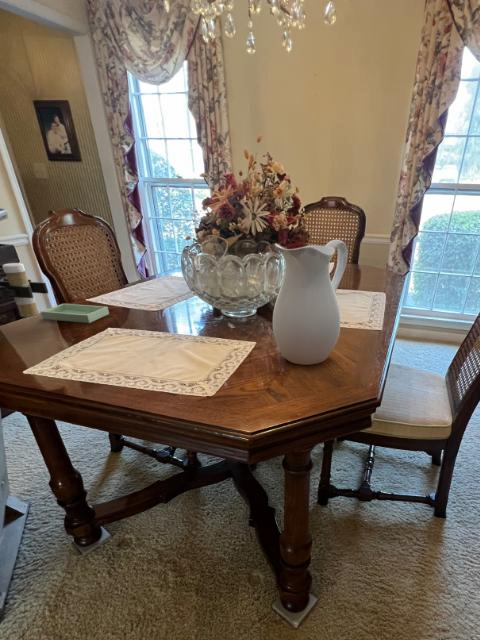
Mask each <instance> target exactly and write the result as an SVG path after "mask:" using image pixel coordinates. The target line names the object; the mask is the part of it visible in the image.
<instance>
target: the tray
mask: <svg viewBox="0 0 480 640" xmlns="http://www.w3.org/2000/svg"><path fill="white" fill-rule="evenodd" d="M40 315H41V317H42V320H50V321H60V322H61V321H62V322H63V321H64V322H73V323H74V322H75V323H86V324H90V323H93V322H95V321H96V320H99V319H101V318H103V317H106V316H109V315H110V311H109V307H108V306H102V305H88V304H75V303H61V304H58V305H55V306H52V307H49V308H47V309H44V310H41V311H40Z"/></svg>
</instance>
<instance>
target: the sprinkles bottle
mask: <svg viewBox="0 0 480 640" xmlns="http://www.w3.org/2000/svg"><path fill="white" fill-rule="evenodd" d="M2 269H3V272H4V273H5V275H6V278H8V281H9V284H10V286H23V287H30V284H29V282H28V279H29V278H28V277H27V274H26V268H25V265H24V264H23V262H22V263H21V262H9V263H4V264H2ZM30 288H31V287H30ZM31 291H32V290H31ZM32 294H33V298H22V297H13V299H14V301H15V304H16V306H17V309H18V311H19V316H20V317H23V318H30V317H31V318H32V317H35V316H37V315H39V314H40V311H39V309H38V306H37V303H36V300H35V299H36V298H35V297H34V293H32Z"/></svg>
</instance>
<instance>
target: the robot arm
mask: <svg viewBox="0 0 480 640" xmlns="http://www.w3.org/2000/svg"><path fill="white" fill-rule="evenodd" d="M27 279H28V282H29V284H30V287H31V288H30V287H23V286H10V284H9V281H8V278H7V276H6V277H2V278H0V299H1V298H3V299H4V301H10V298H14V297H22V298H33V296H34V294H49V289H48V287H47V284H46V282H39V281H37V282H36V281H32V280H31V279H29V278H27ZM31 290H32V291H31ZM32 293H33V294H32Z"/></svg>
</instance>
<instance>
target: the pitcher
mask: <svg viewBox="0 0 480 640" xmlns="http://www.w3.org/2000/svg"><path fill="white" fill-rule="evenodd" d="M274 246H275V248H276V250H278V251H279V252H280V253H279V254H280V255H281V256H282V257H283V259H284V264H285V269H284V277H283V279H282V283H281V285H280V288H279V291H278V294H277V297H276V300H275V304H274V306H273V307H274V308H273V312H272V331H273V336H274V341H275V343H276V347H277V348H278V350H279V351H280V353H281V354H282V356H283V357H284V358H285V360H286V361H288V362H290V363H292V364H296V365H303V366H308V365H309V366H310V365H317V364H320V363H322V362H325V361H326V360H327V359H328V357H329V356H330V355H331V354H332V352H333V350H334V349H335V347H336V345H337V342H338V339H339V337H340V331H341V324H342V323H341V320H342V317H341V309H340V305H339V301H338V297H337V294H336V292H337V290H338V287H339V285H340V282H341V280H342V278H343V275H344V273H345V270H346V267H347V262H348V257H349V251H348V245H347V244H346V243H345V242H344V241H343V240H340V239H333V240H330V241H328V242H327V243H326V244H325V245H319V244H318V245H317V244H310V245H306V246H302V247H298V248H297V247H296V248H284V247H282V246H280V245H279V244H278V243H274ZM336 250H337V262H336V268H335V271H334V275H333V277H332V278H331V275H330V262H331V260H332V258H333V257H334V255H335V253H336Z"/></svg>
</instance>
